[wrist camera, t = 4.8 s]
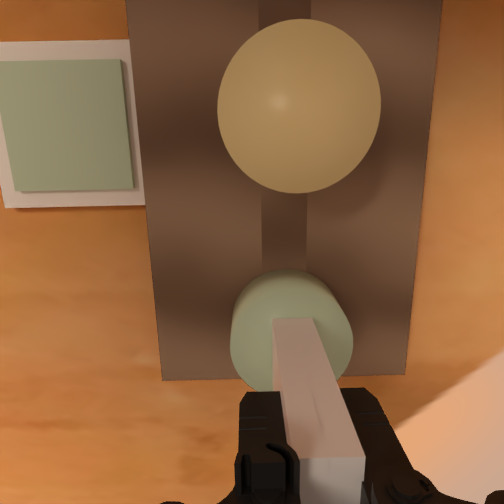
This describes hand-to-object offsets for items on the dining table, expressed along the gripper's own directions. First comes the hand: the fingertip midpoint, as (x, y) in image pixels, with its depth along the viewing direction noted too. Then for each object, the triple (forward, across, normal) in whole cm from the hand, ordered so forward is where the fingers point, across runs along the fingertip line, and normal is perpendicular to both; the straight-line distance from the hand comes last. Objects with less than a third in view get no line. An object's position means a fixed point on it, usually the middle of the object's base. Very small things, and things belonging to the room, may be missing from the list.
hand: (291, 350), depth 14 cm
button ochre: (+4, 0, +8) cm, 9 cm away
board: (+6, 0, +8) cm, 10 cm away
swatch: (+6, -10, +8) cm, 14 cm away
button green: (+5, 0, 0) cm, 5 cm away
